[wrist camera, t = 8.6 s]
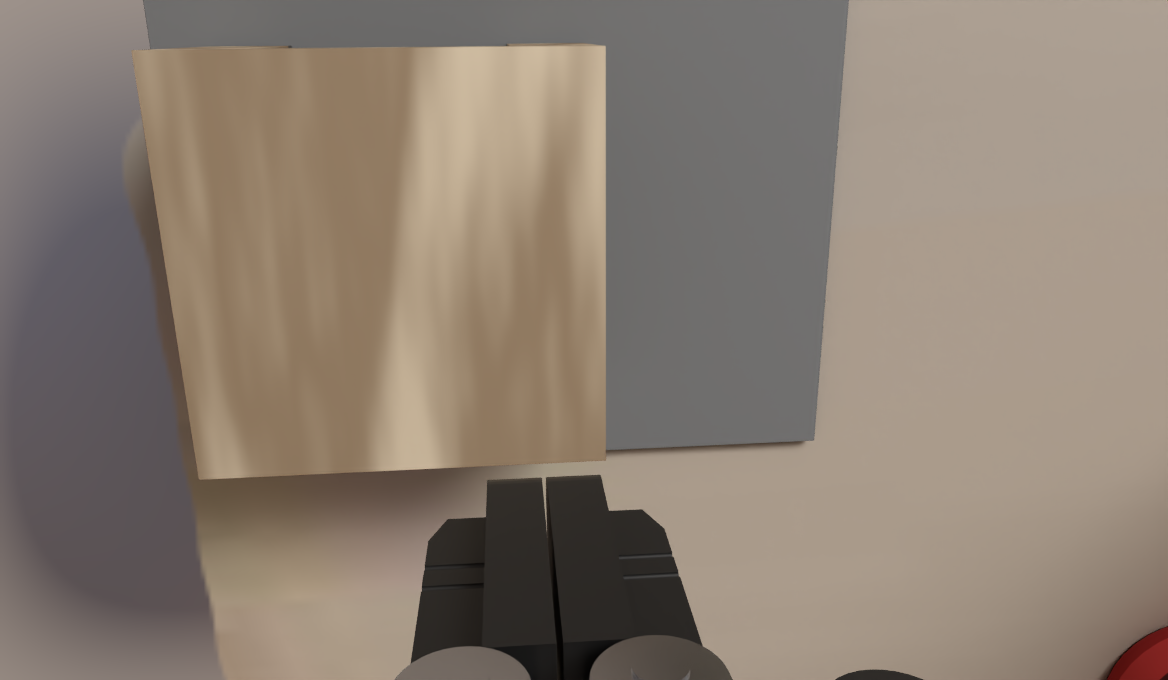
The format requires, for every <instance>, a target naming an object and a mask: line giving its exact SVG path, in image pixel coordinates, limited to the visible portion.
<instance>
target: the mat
mask: <svg viewBox="0 0 1168 680" xmlns="http://www.w3.org/2000/svg"><path fill="white" fill-rule="evenodd" d="M143 2H144V9H145V15H146V22H147V28H148V35H149V42H150V49H171V48H190V47H210V46H292V48H355V47H460V46H507V44H520V43H587V44H594V45H602V46H606V450H619V449H641V448H662V447H684V446H705V445H727V444H748V443H770V442H791V441H813V440H814V434H815V422H816V409H817V396H818V383H819V371H820V358H821V345H822V333H823V320H824V307H825V295H826V282H827V269H828V256H829V244H830V231H831V218H832V206H833V193H834V180H835V168H836V155H837V142H838V129H839V117H840V104H841V91H842V79H843V66H844V53H845V41H846V28H847V15H848V2H849V0H143Z"/></svg>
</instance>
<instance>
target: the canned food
mask: <svg viewBox="0 0 1168 680" xmlns="http://www.w3.org/2000/svg"><path fill="white" fill-rule="evenodd" d="M1107 680H1168V627H1165V628H1162V629H1160V630H1158V631H1156V632H1154V633H1152V634H1149V635H1148V636H1146V637H1145V638H1143V639H1142V640H1140V641H1139V642H1137V643H1136V644H1134V645H1133V646H1132V647H1131V648H1130V649H1129V650H1128V651H1127V652H1126V653H1125V654H1123V656H1122V657H1121V658H1120V659H1119V661H1118V662H1117V663H1116V664H1115V666H1114V667H1113V669H1112V671H1111V673H1110V675H1109V677H1108V678H1107Z"/></svg>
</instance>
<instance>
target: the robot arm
mask: <svg viewBox="0 0 1168 680" xmlns="http://www.w3.org/2000/svg"><path fill="white" fill-rule="evenodd" d="M546 508H547V531H546V520H545V509H544V498H543V486H542V478H524V479H503V480H488V481H487V506H486V517H484V518H464V519H448V520H447V521H446V522H445V523H444V524H443V525H442V526H441V528H440V529H439V530H438V531H437V532H436V533H435V534H434V536H433V537H432V538H431V539H430V540H429V541H428V548H427V555H426V562H425V571H424V575H423V582H422V592H421V596H420V603H419V610H418V617H417V624H416V631H415V637H414V644H413V651H412V658H411V664H410V665H409V666H407V667H406V668H405V669H404V670H403V671H402V672H401V673H400V674H399V675H398V676H397V677H396V678H395V680H732V677H731V675H730V673H729V671H728V669H727V668H726V666H725V664H724V663H723V662H722V661H721V660H720V659H719V658H718V656H716V655H715V654H714V653H712V652H711V651H710V650H708V649H707V648H705V647H703V646H702V643H701V640H700V637H699V634H698V630H697V627H696V624H695V621H694V618H693V615H692V612H691V609H690V606H689V603H688V600H687V597H686V594H685V591H684V588H683V585H682V581H681V578H680V577H679V575H678V569H677V566H676V563H675V560H674V557H672V551H671V548H670V545H669V542H668V539H667V536H666V533H665V529H664V528H663V527H662V526H660V525H659V524H658V523H657V522H656V521H655V520H653V519H652V518H651V517H650V516H649V515H648V514H647V513H645V512H644V511H643V510H621V511H609V510H608V506H607V501H606V497H605V492H604V488H603V483H602V479H601V476H600V475H585V476H563V477H546ZM836 680H923V679H920V678H917V677H915V676H912V675H909V674H904V673H900V672H896V671H888V670H862V671H856V672H852V673H848V674H846V675H843V676H841V677H839V678H837V679H836Z"/></svg>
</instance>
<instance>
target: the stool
mask: <svg viewBox="0 0 1168 680" xmlns="http://www.w3.org/2000/svg"><path fill="white" fill-rule="evenodd" d="M132 57H133V63H134V70H135V77H136V83H137V90H138V95H139V102H140V109H141V115H142V121H143V128H144V134H145V141H146V147H147V153H148V160H149V166H150V172H151V179H152V185H153V192H154V198H155V204H156V211H157V217H158V223H159V230H160V236H161V242H162V249H163V255H164V262H165V268H166V274H167V281H168V287H169V293H170V300H171V306H172V312H173V319H174V325H175V332H176V338H177V344H178V351H179V357H180V363H181V370H182V376H183V383H184V389H185V395H186V402H187V408H188V414H189V421H190V427H191V433H192V440H193V446H194V453H195V459H196V465H197V472H198V478H199V480H205V479H226V478H247V477H268V476H289V475H310V474H332V473H353V472H374V471H395V470H416V469H437V468H458V467H479V466H500V465H521V464H542V463H563V462H584V461H605V460H606V46H602V45H594V44H587V43H520V44H507V46H460V47H355V48H292V46H210V47H190V48H171V49H151V50H132Z"/></svg>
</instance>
